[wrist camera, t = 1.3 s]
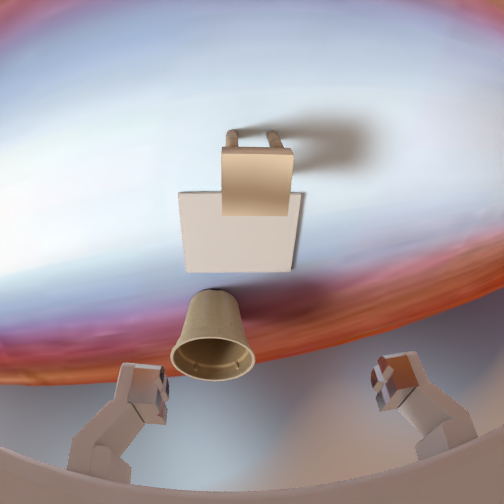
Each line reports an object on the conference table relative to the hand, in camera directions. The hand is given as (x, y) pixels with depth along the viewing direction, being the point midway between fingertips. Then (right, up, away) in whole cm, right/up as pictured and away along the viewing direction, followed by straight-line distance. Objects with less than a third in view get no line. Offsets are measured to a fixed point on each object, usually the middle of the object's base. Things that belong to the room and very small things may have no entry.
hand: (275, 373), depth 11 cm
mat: (-2, +6, +22) cm, 23 cm away
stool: (-1, +13, +17) cm, 22 cm away
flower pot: (-6, -2, +29) cm, 30 cm away
